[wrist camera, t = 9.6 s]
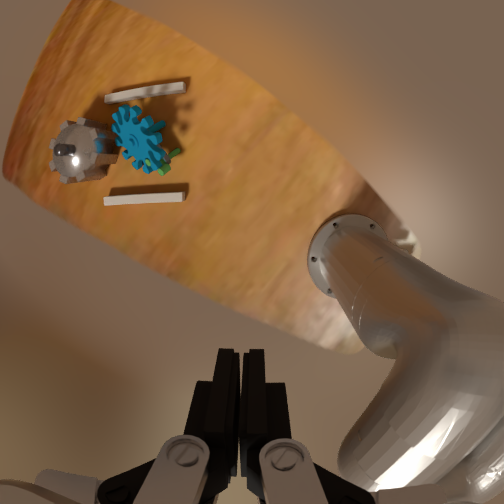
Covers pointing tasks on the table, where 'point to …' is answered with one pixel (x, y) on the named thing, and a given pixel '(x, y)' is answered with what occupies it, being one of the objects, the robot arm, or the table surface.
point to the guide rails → (137, 94)
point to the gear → (141, 140)
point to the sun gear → (82, 151)
